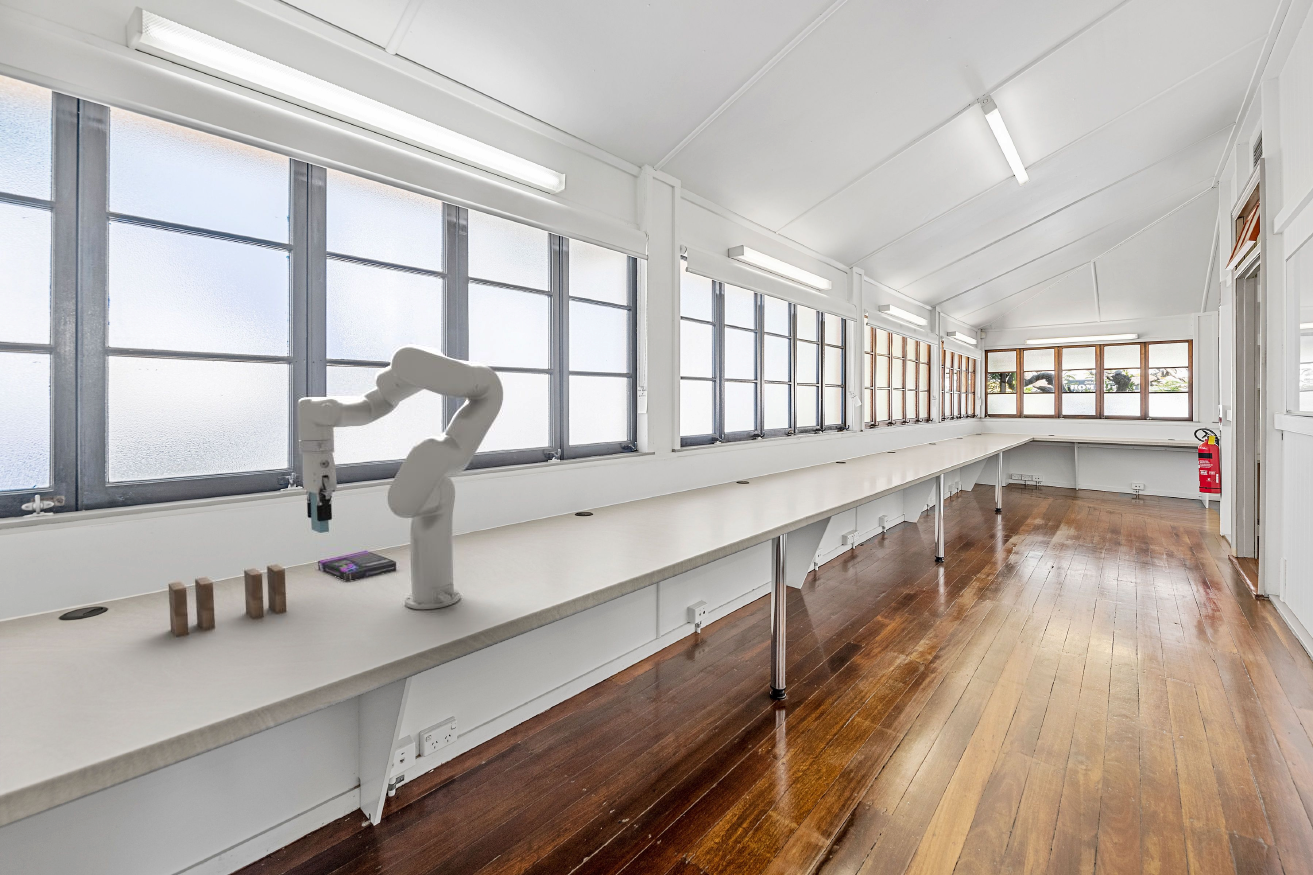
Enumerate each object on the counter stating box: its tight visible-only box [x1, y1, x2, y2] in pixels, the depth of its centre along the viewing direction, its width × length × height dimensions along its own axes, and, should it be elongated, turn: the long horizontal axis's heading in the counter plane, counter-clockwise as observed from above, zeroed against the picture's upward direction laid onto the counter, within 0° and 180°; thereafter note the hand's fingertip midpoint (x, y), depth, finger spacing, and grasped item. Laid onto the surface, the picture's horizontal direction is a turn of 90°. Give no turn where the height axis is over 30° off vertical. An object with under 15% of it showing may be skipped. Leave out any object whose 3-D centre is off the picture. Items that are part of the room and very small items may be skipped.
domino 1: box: [168, 581, 189, 638], centre depth 123 cm, size 2×6×10 cm, turn 48°
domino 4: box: [266, 563, 287, 615], centre depth 137 cm, size 2×6×10 cm, turn 48°
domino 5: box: [310, 490, 330, 534], centre depth 146 cm, size 2×6×10 cm, turn 48°
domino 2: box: [194, 576, 216, 632], centre depth 126 cm, size 2×6×10 cm, turn 48°
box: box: [317, 550, 397, 583], centre depth 169 cm, size 14×4×20 cm
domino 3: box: [243, 567, 265, 620], centre depth 133 cm, size 2×6×10 cm, turn 48°
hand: (319, 518), depth 146 cm, fingers closed on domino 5, 5 cm apart
